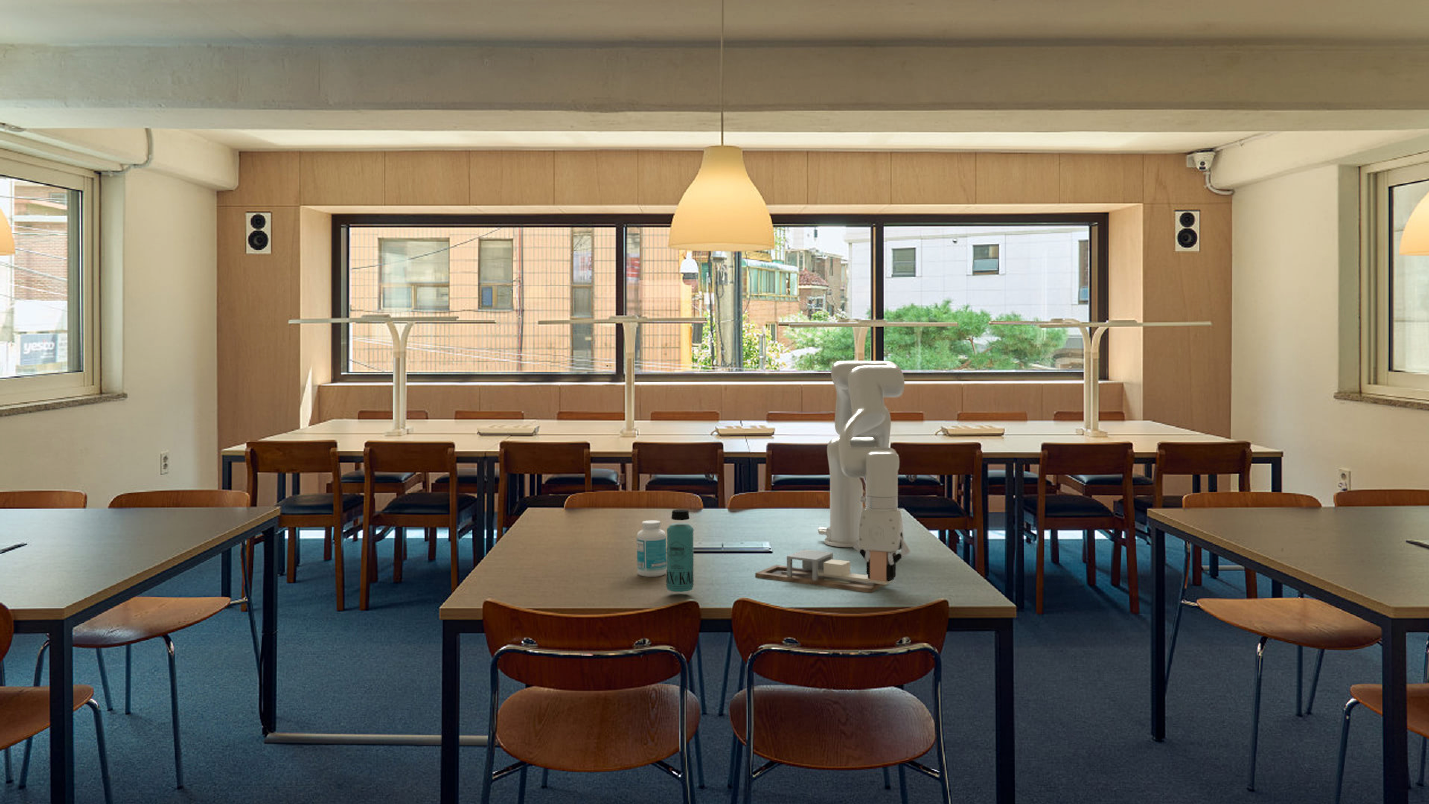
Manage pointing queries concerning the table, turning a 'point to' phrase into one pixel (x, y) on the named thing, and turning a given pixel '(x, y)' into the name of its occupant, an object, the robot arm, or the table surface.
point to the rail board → (806, 578)
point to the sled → (843, 572)
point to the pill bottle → (651, 550)
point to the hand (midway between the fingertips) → (881, 578)
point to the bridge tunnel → (809, 561)
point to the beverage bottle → (680, 553)
